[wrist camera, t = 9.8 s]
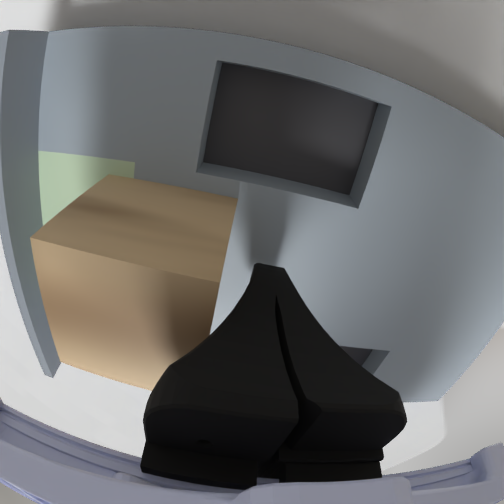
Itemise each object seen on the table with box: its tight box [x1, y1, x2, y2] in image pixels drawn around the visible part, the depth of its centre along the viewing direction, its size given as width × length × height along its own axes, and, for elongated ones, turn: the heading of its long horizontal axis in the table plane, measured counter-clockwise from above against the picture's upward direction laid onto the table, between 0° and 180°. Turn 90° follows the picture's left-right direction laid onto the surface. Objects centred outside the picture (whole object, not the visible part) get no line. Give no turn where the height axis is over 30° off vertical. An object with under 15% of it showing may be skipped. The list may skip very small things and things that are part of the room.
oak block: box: [30, 174, 238, 391], centre depth 10 cm, size 5×5×5 cm
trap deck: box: [0, 26, 504, 402], centre depth 13 cm, size 17×26×4 cm, turn 78°
